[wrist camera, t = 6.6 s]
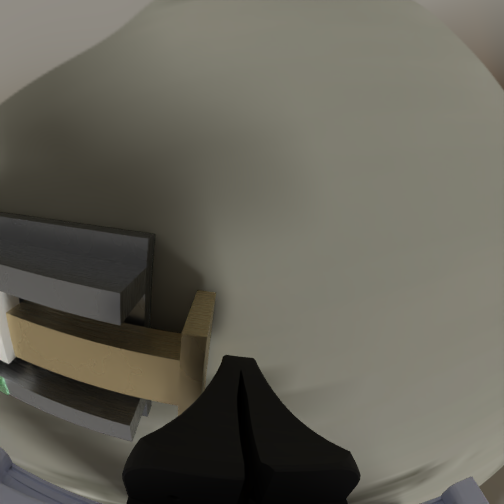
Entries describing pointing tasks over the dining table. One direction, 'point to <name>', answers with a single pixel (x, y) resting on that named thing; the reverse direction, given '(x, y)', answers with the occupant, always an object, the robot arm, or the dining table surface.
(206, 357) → the wooden t-shaped block
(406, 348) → the dining table surface
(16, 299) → the pointer
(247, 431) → the robot arm
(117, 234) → the gauge frame
